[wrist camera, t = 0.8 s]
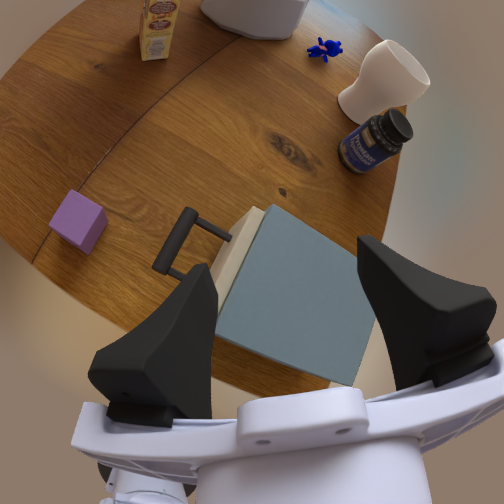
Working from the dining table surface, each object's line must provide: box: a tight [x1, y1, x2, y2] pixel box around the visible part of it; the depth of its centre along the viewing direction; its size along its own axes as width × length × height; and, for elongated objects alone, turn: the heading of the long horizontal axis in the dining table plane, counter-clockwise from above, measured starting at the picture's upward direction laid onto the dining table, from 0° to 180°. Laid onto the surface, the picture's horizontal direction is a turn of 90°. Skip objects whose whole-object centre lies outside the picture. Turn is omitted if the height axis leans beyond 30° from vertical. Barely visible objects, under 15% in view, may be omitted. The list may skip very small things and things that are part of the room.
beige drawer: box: [152, 206, 265, 318], centre depth 25 cm, size 17×10×7 cm, turn 65°
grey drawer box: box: [215, 204, 376, 387], centre depth 26 cm, size 14×11×9 cm
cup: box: [338, 40, 430, 125], centre depth 36 cm, size 11×11×15 cm
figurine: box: [307, 37, 343, 63], centre depth 41 cm, size 5×8×5 cm, turn 134°
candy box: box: [139, 0, 180, 61], centre depth 24 cm, size 9×4×15 cm, turn 19°
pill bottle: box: [338, 109, 413, 175], centre depth 34 cm, size 6×6×11 cm
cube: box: [49, 189, 108, 255], centre depth 23 cm, size 4×4×4 cm
